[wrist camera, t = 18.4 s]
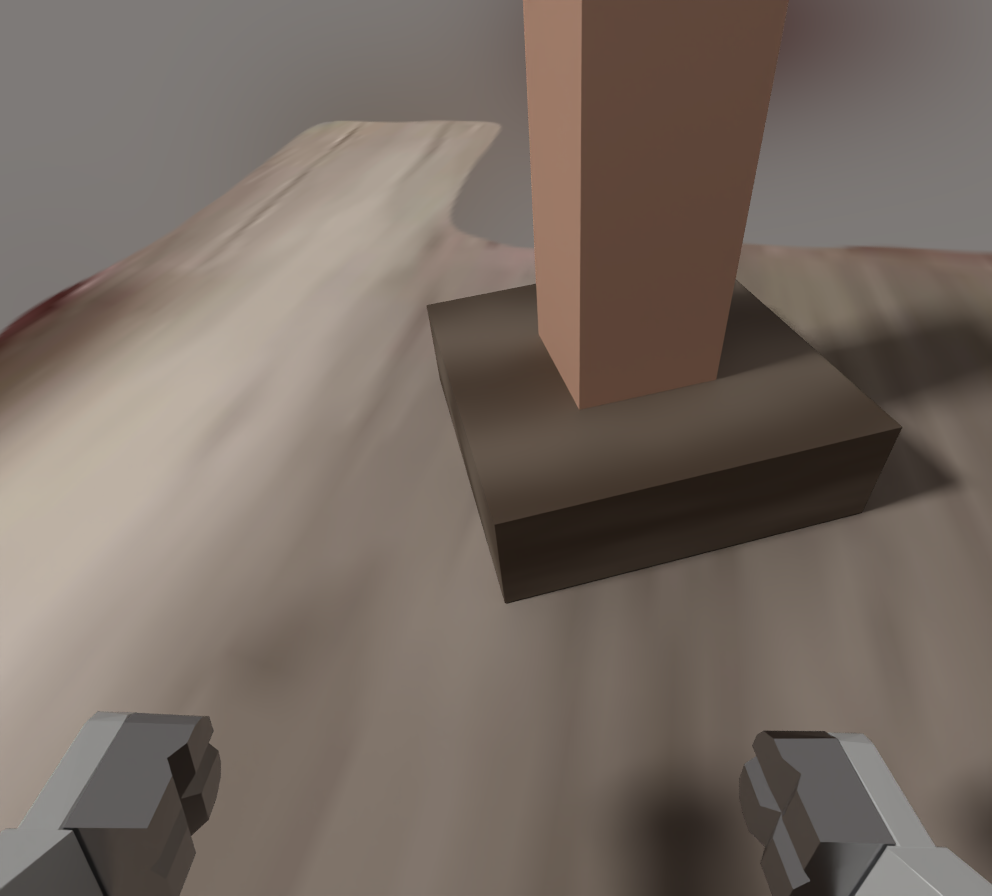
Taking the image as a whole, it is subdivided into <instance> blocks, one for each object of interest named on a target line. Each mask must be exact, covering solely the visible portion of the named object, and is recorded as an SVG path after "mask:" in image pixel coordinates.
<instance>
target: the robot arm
mask: <svg viewBox="0 0 992 896" xmlns="http://www.w3.org/2000/svg"><path fill="white" fill-rule="evenodd" d="M213 731H214V730H213V727H212V724H211V721H210V717H209V716H193V715H171V714H149V713H134V712H100V711H98V712H97V713H96V714H94V715H93V716H92V717H91V718H90V719H89V720H88V721H87V722H86V723H85V724H84V725H83V727H82V729H81V730H80V732H79V733H78V735H77V736H76V738H75V739H74V741H73V743H72V744H71V746H70V747H69V749H68V750H67V752H66V753H65V755H64V757H63V758H62V760H61V761H60V763H59V764H58V766H57V767H56V769H55V771H54V772H53V774H52V775H51V777H50V778H49V780H48V781H47V783H46V785H45V786H44V788H43V789H42V791H41V792H40V794H39V795H38V797H37V799H36V800H35V802H34V803H33V805H32V806H31V808H30V809H29V811H28V813H27V814H26V816H25V817H24V819H23V820H22V822H21V823H20V825H19V827H18V828H6V829H4V830H3V831H2V832H0V896H180V893H181V890H182V888H183V885H184V883H185V880H186V878H187V875H188V872H189V870H190V867H191V865H192V862H193V859H194V857H195V854H196V851H195V848H194V844H193V841H192V837H191V836H192V835H193V834H194V833H195V832H196V831H197V830H198V829H199V828H200V827H201V826H202V825H204V824H205V823H206V822H207V821H208V820H209V817H210V815H211V812H212V809H213V806H214V804H215V801H216V798H217V793H218V788H219V783H220V778H221V760H220V755H219V751H218V750H217V749H216V748H214V747H213V746H212V745H211V744H209V741H210V739H211V736H212V734H213ZM752 747H753V749H754V752H755V754H756V757H754V758H753V759H751V760H750V761H748V762H747V763H745V764H744V766H743V769H742V772H741V775H740V778H739V798H740V803H741V808H742V813H743V816H744V819H745V822H746V825H747V827H748V830H749V832H750V833H751V834H752V835H753V836H754V837H755V838H756V839H757V840H758V841H759V842H760V843H761V844H762V845H763V846H764V847H765V848H764V852H763V856H762V859H761V863H760V864H761V866H762V869H763V872H764V875H765V877H766V880H767V883H768V885H769V888H770V891H771V894H772V896H992V884H991V883H990V882H988V881H987V880H986V879H985V878H984V877H982V876H981V875H980V874H979V873H977V872H976V871H975V870H974V869H973V868H971V867H970V866H969V865H968V864H966V863H965V862H964V861H963V860H962V859H960V858H959V857H958V856H957V855H955V854H954V853H953V852H952V851H950V850H949V849H948V848H947V847H936V846H935V844H934V843H933V841H932V839H931V838H930V836H929V834H928V833H927V831H926V829H925V828H924V826H923V825H922V823H921V821H920V820H919V818H918V816H917V815H916V813H915V811H914V810H913V808H912V806H911V805H910V803H909V802H908V800H907V798H906V797H905V795H904V793H903V792H902V790H901V788H900V787H899V785H898V784H897V782H896V780H895V779H894V777H893V775H892V774H891V772H890V770H889V769H888V767H887V766H886V764H885V762H884V761H883V759H882V757H881V756H880V754H879V752H878V751H877V749H876V747H875V746H874V744H873V743H872V741H871V740H870V739H869V738H867V737H866V736H865V735H864V734H860V733H826V732H825V731H762V732H761V733H759V734H757V736H756V738H755V740H754V742H753V745H752Z"/></svg>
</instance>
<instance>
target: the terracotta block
mask: <svg viewBox="0 0 992 896" xmlns="http://www.w3.org/2000/svg"><path fill="white" fill-rule="evenodd" d="M788 2H789V0H523V9H524V32H525V53H526V75H527V96H528V116H529V117H528V118H529V139H530V160H531V183H532V204H533V224H534V225H533V226H534V245H535V246H534V247H535V269H536V290H537V312H538V333H539V336H540V338H541V339H542V341H543V343H544V345H545V347H546V349H547V351H548V352H549V354H550V356H551V358H552V360H553V362H554V364H555V366H556V367H557V369H558V371H559V373H560V375H561V377H562V379H563V380H564V382H565V384H566V386H567V388H568V390H569V392H570V393H571V395H572V397H573V399H574V401H575V403H576V405H577V406H578V408H579V410H581V409H585V408H590V407H594V406H599V405H603V404H608V403H612V402H617V401H622V400H626V399H631V398H635V397H640V396H644V395H649V394H653V393H658V392H662V391H667V390H672V389H676V388H681V387H685V386H690V385H694V384H699V383H703V382H708V381H712V380H716V378H717V373H718V368H719V362H720V357H721V352H722V347H723V341H724V336H725V331H726V326H727V321H728V315H729V310H730V305H731V300H732V294H733V289H734V284H735V279H736V274H737V268H738V263H739V258H740V253H741V247H742V242H743V237H744V232H745V226H746V221H747V216H748V211H749V206H750V200H751V195H752V189H753V184H754V179H755V174H756V169H757V164H758V159H759V153H760V148H761V143H762V137H763V132H764V127H765V122H766V116H767V112H768V106H769V101H770V96H771V91H772V85H773V80H774V75H775V69H776V64H777V59H778V54H779V48H780V44H781V38H782V33H783V28H784V23H785V18H786V12H787V7H788Z"/></svg>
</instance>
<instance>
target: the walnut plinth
mask: <svg viewBox="0 0 992 896" xmlns="http://www.w3.org/2000/svg"><path fill="white" fill-rule="evenodd" d="M427 311H428V316H429V321H430V327H431V332H432V338H433V343H434V349H435V354H436V360H437V365H438V371H439V376H440V381H441V384H442V388H443V391H444V394H445V398H446V401H447V405H448V408H449V412H450V415H451V419H452V422H453V426H454V429H455V432H456V436H457V439H458V443H459V446H460V450H461V453H462V457H463V460H464V463H465V467H466V470H467V474H468V477H469V481H470V484H471V488H472V491H473V495H474V498H475V501H476V505H477V508H478V512H479V515H480V519H481V522H482V526H483V529H484V532H485V536H486V539H487V543H488V546H489V550H490V553H491V557H492V560H493V563H494V567H495V570H496V574H497V577H498V581H499V584H500V588H501V591H502V595H503V598H504V601H505V603H508V602H512V601H516V600H520V599H524V598H528V597H531V596H535V595H539V594H543V593H547V592H551V591H555V590H559V589H563V588H567V587H571V586H575V585H579V584H583V583H586V582H590V581H594V580H598V579H602V578H606V577H610V576H614V575H618V574H622V573H626V572H630V571H634V570H638V569H641V568H645V567H649V566H653V565H657V564H661V563H665V562H669V561H673V560H677V559H681V558H685V557H689V556H693V555H696V554H700V553H704V552H708V551H712V550H716V549H720V548H724V547H728V546H732V545H736V544H740V543H744V542H748V541H751V540H755V539H759V538H763V537H767V536H771V535H775V534H779V533H783V532H787V531H791V530H795V529H799V528H803V527H806V526H810V525H814V524H818V523H822V522H826V521H830V520H834V519H838V518H842V517H846V516H850V515H854V514H858V513H862V511H863V509H864V507H865V505H866V503H867V501H868V498H869V496H870V494H871V492H872V490H873V488H874V486H875V484H876V482H877V479H878V477H879V475H880V473H881V471H882V469H883V467H884V465H885V463H886V460H887V458H888V456H889V454H890V452H891V450H892V448H893V446H894V444H895V441H896V439H897V437H898V435H899V433H900V431H901V429H902V426H901V425H899V424H898V423H897V422H896V421H895V420H894V419H893V418H892V417H890V416H889V415H888V414H887V413H886V412H885V411H884V410H882V409H881V408H880V407H879V406H878V405H877V404H876V403H875V402H873V401H872V400H871V399H870V398H869V397H868V396H867V395H866V394H864V393H863V392H862V391H861V390H860V389H859V388H858V387H857V386H855V385H854V384H853V383H852V382H851V381H850V380H849V379H848V378H846V377H845V376H844V375H843V374H842V373H841V372H840V371H839V370H837V369H836V368H835V367H834V366H833V365H832V364H831V363H830V362H828V361H827V360H826V359H825V358H824V357H823V356H822V355H821V354H819V353H818V352H817V351H816V350H815V349H814V348H813V347H812V346H810V345H809V344H808V343H807V342H806V341H805V340H804V339H803V338H801V337H800V336H799V335H798V334H797V333H796V332H795V331H793V330H792V329H791V328H790V327H789V326H788V325H787V324H786V323H784V322H783V321H782V320H781V319H780V318H779V317H778V316H777V315H775V314H774V313H773V312H772V311H771V310H770V309H769V308H768V307H766V306H765V305H764V304H763V303H762V302H761V301H760V300H759V299H757V298H756V297H755V296H754V295H753V294H752V293H751V292H750V291H748V290H747V289H746V288H745V287H744V286H743V285H742V284H741V283H739V282H738V281H737V280H736V279H735V284H734V289H733V294H732V300H731V305H730V310H729V315H728V321H727V326H726V331H725V336H724V341H723V347H722V352H721V357H720V362H719V368H718V373H717V378H716V380H712V381H708V382H703V383H699V384H694V385H690V386H685V387H681V388H676V389H672V390H667V391H662V392H658V393H653V394H649V395H644V396H640V397H635V398H631V399H626V400H622V401H617V402H612V403H608V404H603V405H599V406H594V407H590V408H585V409H581V410H579V408H578V406H577V405H576V403H575V401H574V399H573V397H572V395H571V393H570V392H569V390H568V388H567V386H566V384H565V382H564V380H563V379H562V377H561V375H560V373H559V371H558V369H557V367H556V366H555V364H554V362H553V360H552V358H551V356H550V354H549V352H548V351H547V349H546V347H545V345H544V343H543V341H542V339H541V338H540V336H539V333H538V312H537V290H536V284H533V285H528V286H522V287H517V288H512V289H507V290H502V291H497V292H492V293H487V294H482V295H477V296H471V297H466V298H461V299H456V300H451V301H446V302H441V303H436V304H431V305H427Z"/></svg>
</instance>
